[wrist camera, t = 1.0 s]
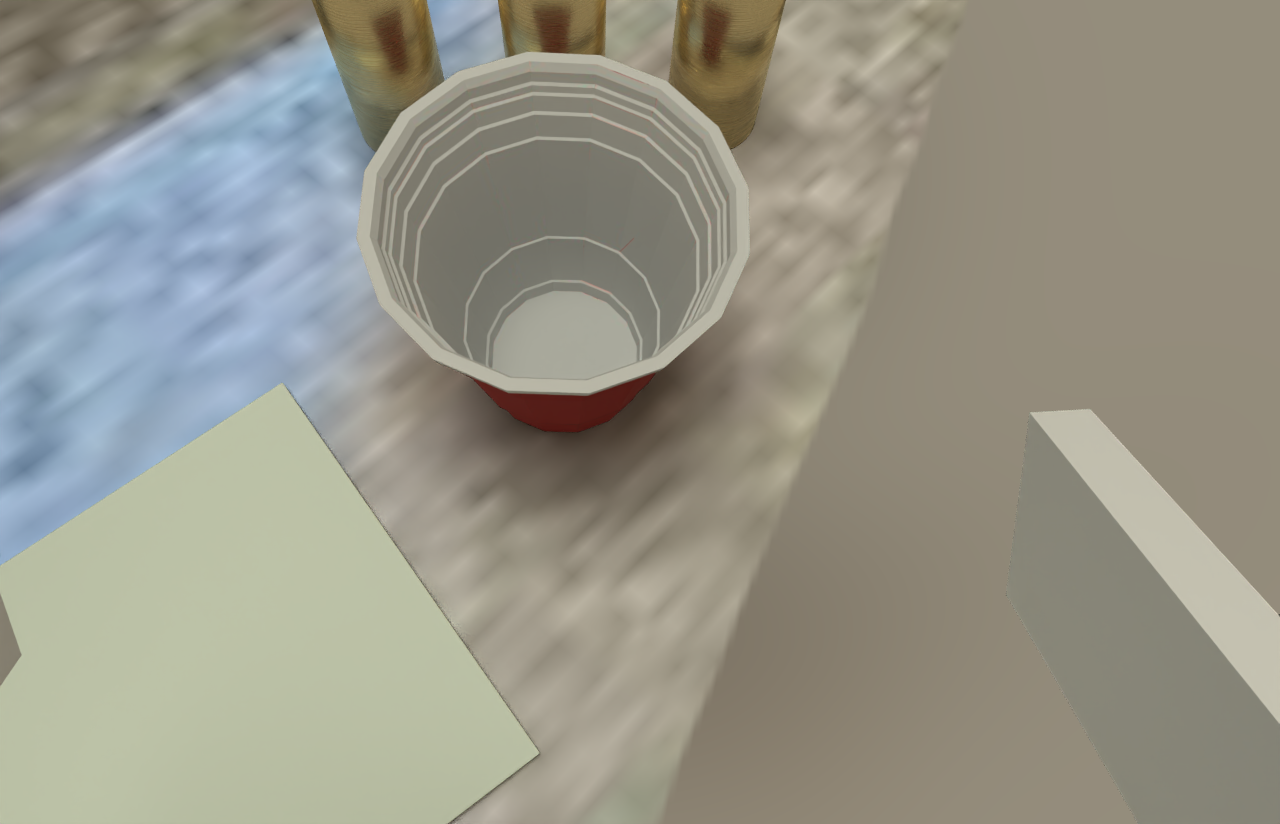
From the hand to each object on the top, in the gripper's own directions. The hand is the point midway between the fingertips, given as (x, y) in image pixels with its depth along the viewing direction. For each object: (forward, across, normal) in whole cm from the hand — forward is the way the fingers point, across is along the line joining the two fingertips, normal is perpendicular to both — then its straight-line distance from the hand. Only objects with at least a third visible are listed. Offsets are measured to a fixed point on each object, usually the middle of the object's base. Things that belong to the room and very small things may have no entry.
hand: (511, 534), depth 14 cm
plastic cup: (+27, 0, -9) cm, 29 cm away
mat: (+18, -13, -18) cm, 28 cm away
